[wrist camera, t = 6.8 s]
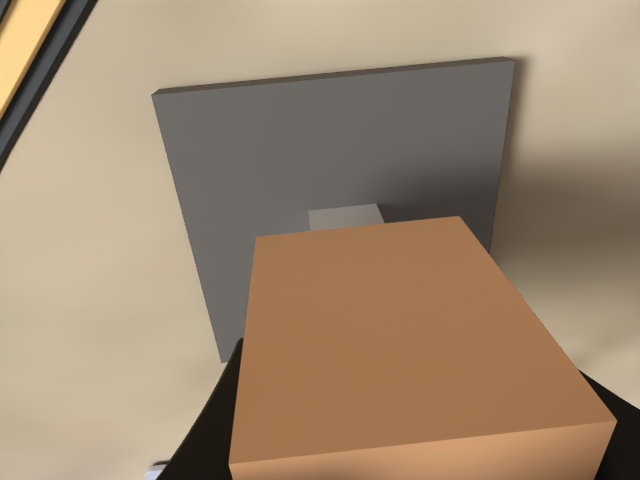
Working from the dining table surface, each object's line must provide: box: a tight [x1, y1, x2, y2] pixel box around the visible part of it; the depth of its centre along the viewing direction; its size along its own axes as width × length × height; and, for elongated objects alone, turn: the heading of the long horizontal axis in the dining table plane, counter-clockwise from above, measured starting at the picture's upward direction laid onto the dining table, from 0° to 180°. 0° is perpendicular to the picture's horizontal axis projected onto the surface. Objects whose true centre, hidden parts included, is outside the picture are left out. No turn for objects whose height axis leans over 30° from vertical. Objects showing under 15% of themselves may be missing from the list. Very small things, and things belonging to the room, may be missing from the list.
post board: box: [151, 57, 515, 363], centre depth 16 cm, size 12×12×6 cm
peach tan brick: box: [229, 216, 617, 480], centre depth 10 cm, size 6×6×7 cm
